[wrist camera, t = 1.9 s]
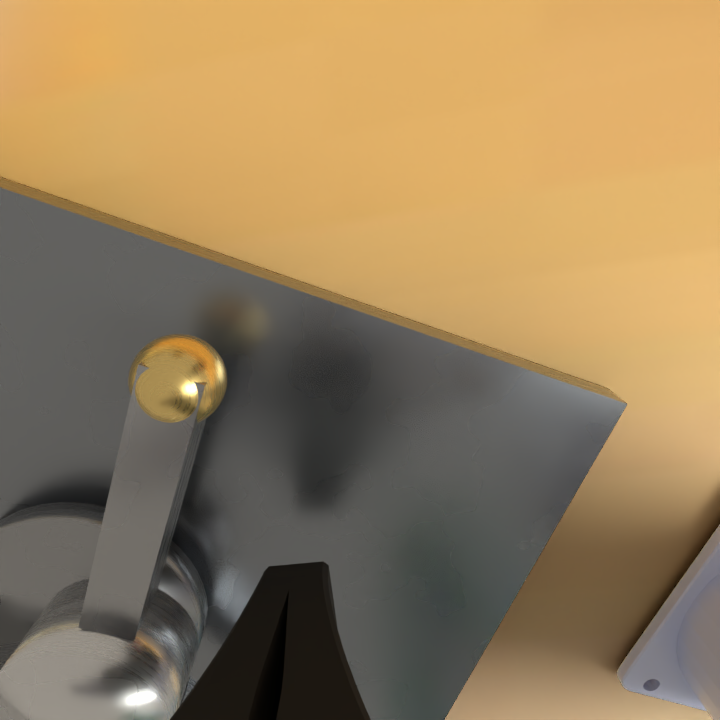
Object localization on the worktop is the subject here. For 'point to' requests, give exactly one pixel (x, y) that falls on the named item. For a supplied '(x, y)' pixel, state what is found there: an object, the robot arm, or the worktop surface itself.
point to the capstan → (114, 564)
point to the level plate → (296, 439)
